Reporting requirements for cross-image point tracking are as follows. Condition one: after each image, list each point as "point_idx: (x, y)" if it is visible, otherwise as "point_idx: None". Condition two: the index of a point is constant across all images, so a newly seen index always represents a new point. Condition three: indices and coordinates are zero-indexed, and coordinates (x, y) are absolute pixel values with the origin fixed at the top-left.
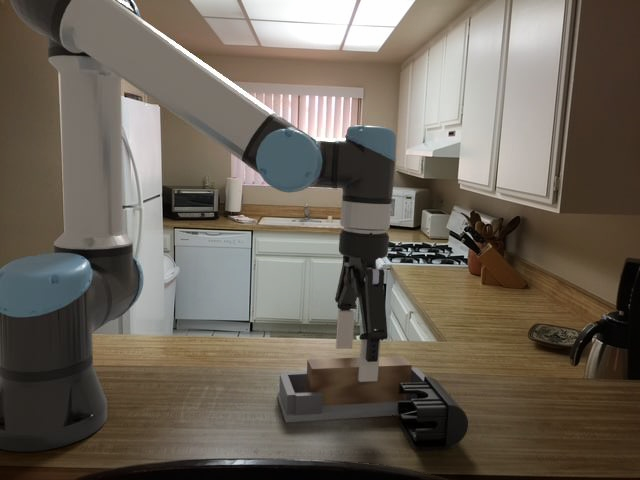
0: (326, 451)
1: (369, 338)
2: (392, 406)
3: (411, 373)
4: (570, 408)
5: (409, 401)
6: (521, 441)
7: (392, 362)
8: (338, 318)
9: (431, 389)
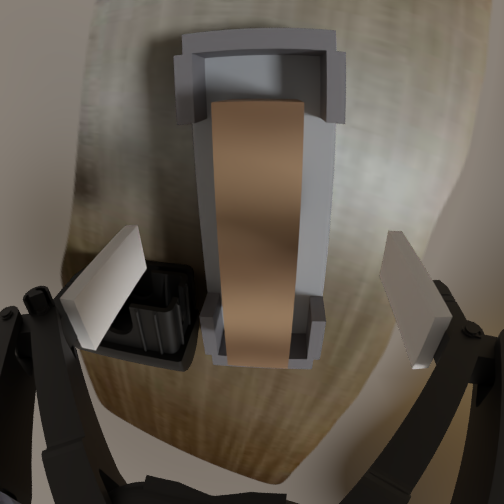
0: (88, 116)
1: (11, 307)
2: (217, 274)
3: (304, 352)
4: (222, 442)
5: (181, 304)
6: (140, 376)
7: (247, 337)
8: (429, 294)
9: (139, 347)
